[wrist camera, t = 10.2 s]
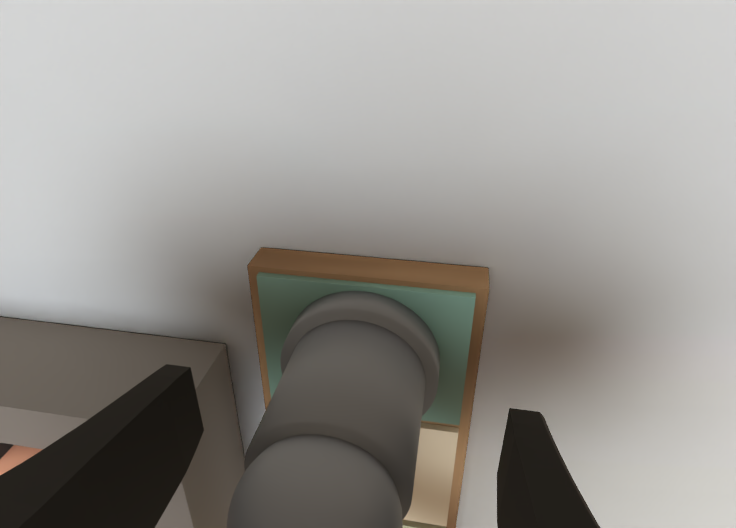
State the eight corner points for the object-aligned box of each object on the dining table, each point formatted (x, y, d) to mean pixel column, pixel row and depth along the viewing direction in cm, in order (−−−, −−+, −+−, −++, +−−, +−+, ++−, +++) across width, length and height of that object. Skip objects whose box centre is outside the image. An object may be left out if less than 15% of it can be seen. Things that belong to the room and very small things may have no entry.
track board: (438, 635, 22) (436, 667, 21) (300, 608, 23) (292, 638, 22) (488, 267, 13) (489, 293, 12) (260, 247, 14) (244, 269, 13)
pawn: (434, 419, 14) (410, 697, 9) (295, 401, 15) (192, 650, 10) (445, 299, 12) (422, 560, 7) (284, 283, 13) (147, 513, 8)
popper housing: (255, 525, 21) (218, 621, 18) (50, 489, 22) (-18, 573, 19) (225, 344, 16) (168, 431, 13) (-31, 313, 17) (-136, 385, 14)
